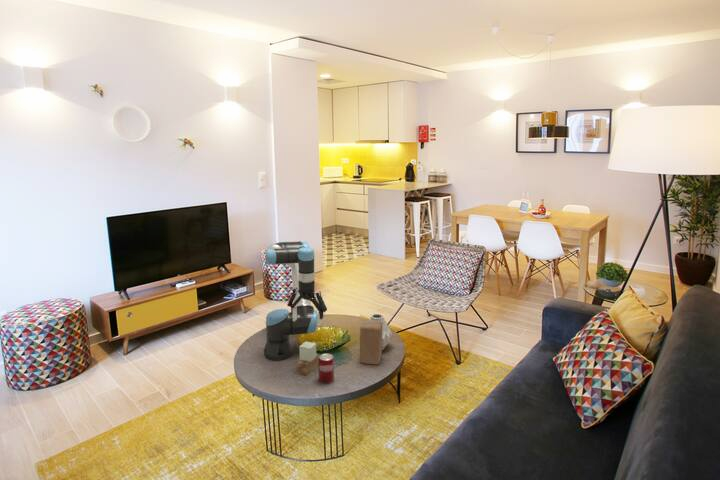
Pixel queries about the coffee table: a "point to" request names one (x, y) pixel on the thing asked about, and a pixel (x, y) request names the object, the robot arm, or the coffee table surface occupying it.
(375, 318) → the vase
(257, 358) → the coffee table surface
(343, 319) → the coffee table surface
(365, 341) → the wooden block
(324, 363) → the soda can
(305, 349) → the sage block
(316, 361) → the walnut block
